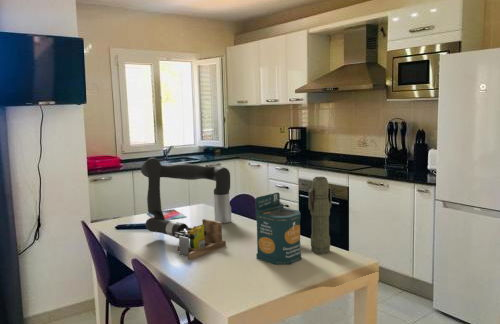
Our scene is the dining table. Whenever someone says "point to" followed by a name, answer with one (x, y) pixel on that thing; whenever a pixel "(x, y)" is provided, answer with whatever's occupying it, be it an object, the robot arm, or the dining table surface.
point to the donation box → (277, 231)
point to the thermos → (320, 214)
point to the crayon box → (197, 237)
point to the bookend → (184, 245)
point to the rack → (208, 239)
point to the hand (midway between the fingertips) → (200, 235)
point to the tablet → (170, 215)
